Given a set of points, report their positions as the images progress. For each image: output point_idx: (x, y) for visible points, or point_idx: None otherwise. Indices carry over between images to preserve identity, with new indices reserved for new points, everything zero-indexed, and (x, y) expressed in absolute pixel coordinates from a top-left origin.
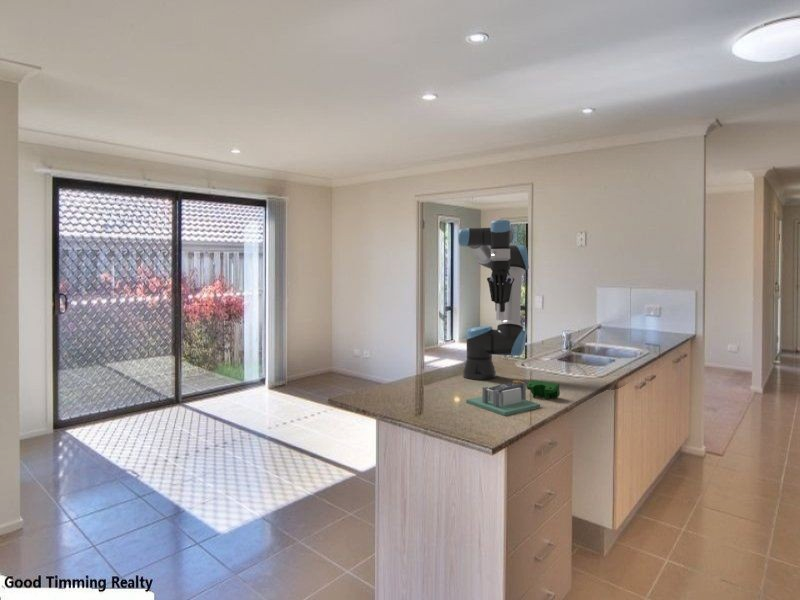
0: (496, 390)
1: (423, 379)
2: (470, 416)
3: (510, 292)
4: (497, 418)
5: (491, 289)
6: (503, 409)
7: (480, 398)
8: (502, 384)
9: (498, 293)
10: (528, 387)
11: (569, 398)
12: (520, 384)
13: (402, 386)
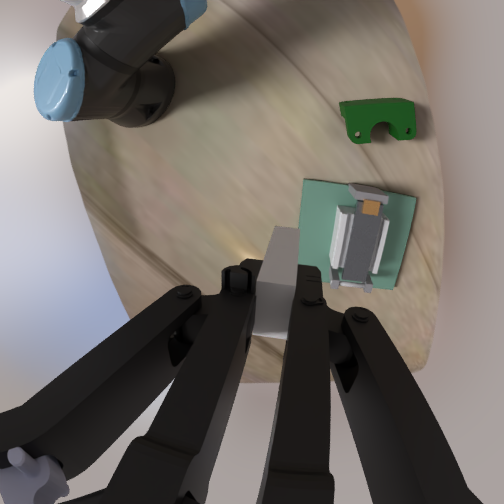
0: (369, 288)
1: (106, 210)
2: None
3: (417, 392)
4: (388, 303)
5: (131, 416)
6: (383, 277)
7: (305, 252)
8: (352, 242)
9: (232, 391)
10: (357, 143)
11: (413, 90)
12: (382, 209)
13: (133, 274)
